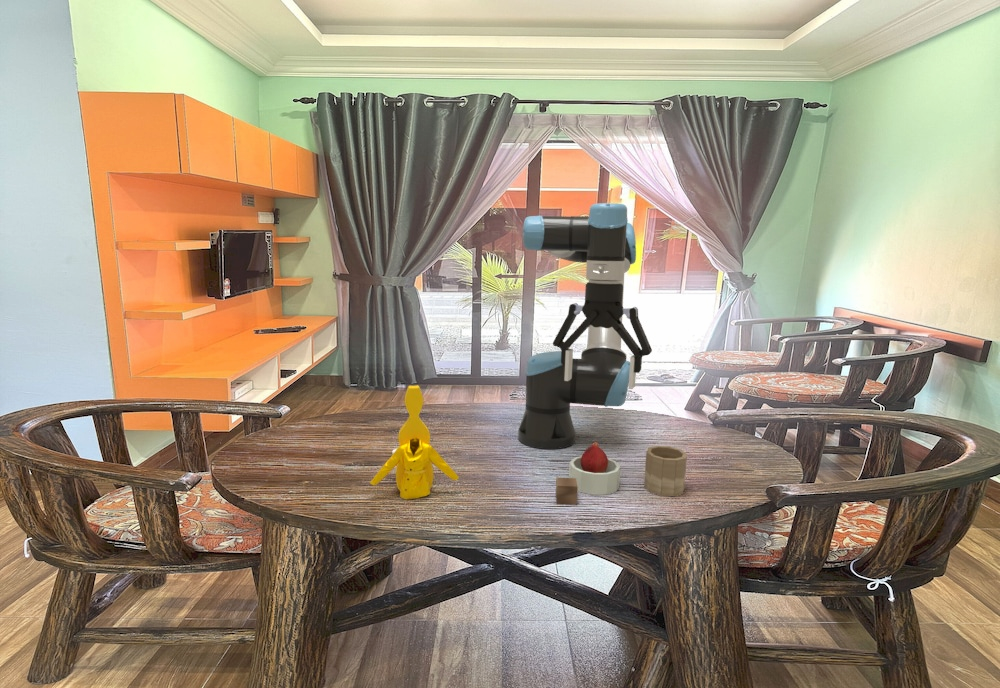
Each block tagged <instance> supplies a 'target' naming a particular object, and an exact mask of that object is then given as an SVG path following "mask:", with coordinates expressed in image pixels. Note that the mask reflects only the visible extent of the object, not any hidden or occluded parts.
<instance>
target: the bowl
mask: <svg viewBox="0 0 1000 688" xmlns="http://www.w3.org/2000/svg"><path fill="white" fill-rule="evenodd" d="M581 457H582V455H580V456H577V457H573V458H572V459H571V460H570V461H569V469H568V470H569V471H568V478H576V480H577V486H578V490H577V492H580V493H583V494H587V495H591V496H599V495H600V496H605V495H606V496H608V495H611V494H614V493H616V492H617V491H618V490H619V488H620V480H621V479H620V477H621V466H620V464H619V463H618V461H615V460H614V459H612V458H609V457H607V459H608V467H607V469H606V471H605V472H604V473H592V472H586V471H583V469H582V467H581Z"/></svg>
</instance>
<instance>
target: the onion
mask: <svg viewBox="0 0 1000 688" xmlns="http://www.w3.org/2000/svg"><path fill="white" fill-rule="evenodd" d="M581 456H582V457H581V467H582V469H583V471H586V472H592V473H604V472H605V471H606V469H607V467H608V459H607V458H608V456H607V454H606V453H605V451H604V450H603V449H602V448H601V447H599V443H598V442H597V441H595V442H593V443H592V444H591V445H590V446H589V447H588V448H586V449H585V450H584V451H583V452H582V455H581Z"/></svg>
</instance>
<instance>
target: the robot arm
mask: <svg viewBox="0 0 1000 688" xmlns="http://www.w3.org/2000/svg"><path fill="white" fill-rule="evenodd" d="M628 221H629V219H628V207H627V205H625V204H623V203H614V202H613V203H611V202H605V203H603V202H602V203H601V202H600V203H594V204H592V205H590V207H589V212H588V215H587V216H585V215H584V216H578V215H577V216H576V215H573V216H563V215H561V216H559V215H551V216H550V215H531V216H527V217H525V219H524V222H523V226H522V242H523V243H522V244H523V247H524V249H525V250H529V251H530V250H531V251H536V252H538V251H541V252H542V251H546V252H548V253H549V254H550V255H552V256H553V257H555V258H558V259H561V260H564V261H568V262H574V263H586V269H585V270H586V273H585V279H586V280H588V282H587V283H586V284H585V292H584V305H580V304H578V303H576V302H574V303H571V304H570V305H569V307H568V313H567V316H566V318H565V319H564V321H563V323H562V325H561V327H560V329H559V330H558V332H557V334H556V335H555V337H554V338H555V339H554V340H553V342H552V345H553V347H557V348H559V349H560V350H557V351H546V352H541V353H540V352H539V353H536V354H534V355H532V356H530V357H529V358H528V359H527V364H526V372H525V376H526V380H525V381H526V385H525V411H524V413H523V416H522V419H521V421H520V424H519V427H518V432H517V437H518V439H517V440H518V441H519V442H520V443H522V444H523V445H526V446H528V447H531V448H535V449H536V448H537V449H545V450H551V449H552V450H556V449H564V448H567V447H570V446H572V445H574V444H575V442H576V430H575V427H574V423H573V421H572V420H573V419H572V416H571V411H570V410H571V408H570V407H571V404H573V405H574V404H576V405H586V406H600V407H601V406H602V407H605V408H608V407H621V406H623V405H624V403H625V402H626V400H627V395H628V390H634V388H635V387H636V378H637V377H636V373H637V374H639V373H640V372H641V370H642V364H643V363H642V361H643V357H645V356H648V355H650V354H651V353H652V352H653V349H652V347H651V344H650V342H649V339H648V338H647V335H646V332H645V330H644V328H643V326H642V323H641V322H640V319H639V309H638V307H636V306H633V307H632V308H631V307H628V308H627V307H625V308H624V288H625V274H626V273H628V271H629V270H630V268H631V265H634V264H635V262H636V259H637V248H636V245H637V242H636V232H635V229H634V226H633V225H632V223H630V222H628ZM581 312H582V313H583V315H584V317H585V319H584V320H583V321H582V322H581V324H580V325H579V326H578V327H577V328H576V329H575V330H574V331H573V332H572V334H570V336H568V338H567V339H566V340H565V341H564V339H565V338H566V336H567V334H568V333H569V330H570V329H571V327H572V325H573V323H574V322H575V320H576V318H577V315H580V314H581ZM623 315H625V316H626V318H627V319H628V320H629V321H630V325H631V327H632V329H633V332H634V334H635V336H636V338H637V341H638V343H639V344H637V342H636V340H634V338H633V337H632V335H631V334H630V333H629V331H628V330H627V329H626V328H625V326H624V324H623ZM587 329H588V338H587V339H588V340H587V347H586V348H585V349H584V350H582V352H581V354H580V355H581V356H580V358H574V357H573V356H574V354H573V353H574V349H573V348H571V347H572V345H573V344H574V343H575V342H576V341H577V340H578V339H579V337H581V335H582V334H583V333H584V332H585V331H586V330H587ZM622 341H623V342H624V343H625V345H626V347H627V348H628V349H629V350H630V352H631V353H632V356H630V357H629V359H630V360H627V354H626V352H624V350H622ZM639 345H640V346H639Z"/></svg>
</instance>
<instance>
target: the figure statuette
mask: <svg viewBox="0 0 1000 688" xmlns="http://www.w3.org/2000/svg"><path fill="white" fill-rule="evenodd" d="M404 405H405V408H406V411H407V412H408V415H409V416H408V417H407V419H406V420H405V422H404V423H403V425H402V426H401V428H399V431H398V437H397V438H398V444H399V446H397V448H395V449H396V451H395V452H394V454H392V455H391V456H390V457H389V459H387V461H386V462H385V463H384V464H383V465H382V466H381V468H380V469H379V470H378V472H377V473H376V474H375V475H374V477H373V478H372V479H371V481H370V482H369V483H370V485H372V486H377V485H378V484H379V483H380V482H381V481H382V480H383V479H384V478H385V477H386V476H387V475H389V474H390V472H392V471H393V470H394V469H395V482H396V487H397V489H398V491H400V492H399V497H400V498H401V499H403V500H414V499H420V498H421V497H427V496H428V495H430V494H431V488H432V486H433V482H434V468H433V465H434V466H435V467H436V468H437V469H438V470H440V471H441V472H442V473H443V474H445V476H447V477H448V478H449V479H450V480H452V481H453V482H454V481H457V480H459V479H460V476H459V475H458V474H457V473H456V472H455V471H454V470H453V468H452V467H451V466H450V465H449V464H448V463H447V462H446V461H445V460H444V458H443V457H442V455H440V453H439V452H438V451H437V450H436V449H435V448H434V447H433V446H432V445H431V444H430V442H431V434H430V430H429V428H428V427H427V425H426V424H425V423H424V422H423V420H422V419H421V418H420V416H419V415H420V413H421V411H422V408H423V405H424V396H423V393H422V390H421V388H420V386H419V385H418V384H417V385H408V386H407V389H406V392H405V395H404Z"/></svg>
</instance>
